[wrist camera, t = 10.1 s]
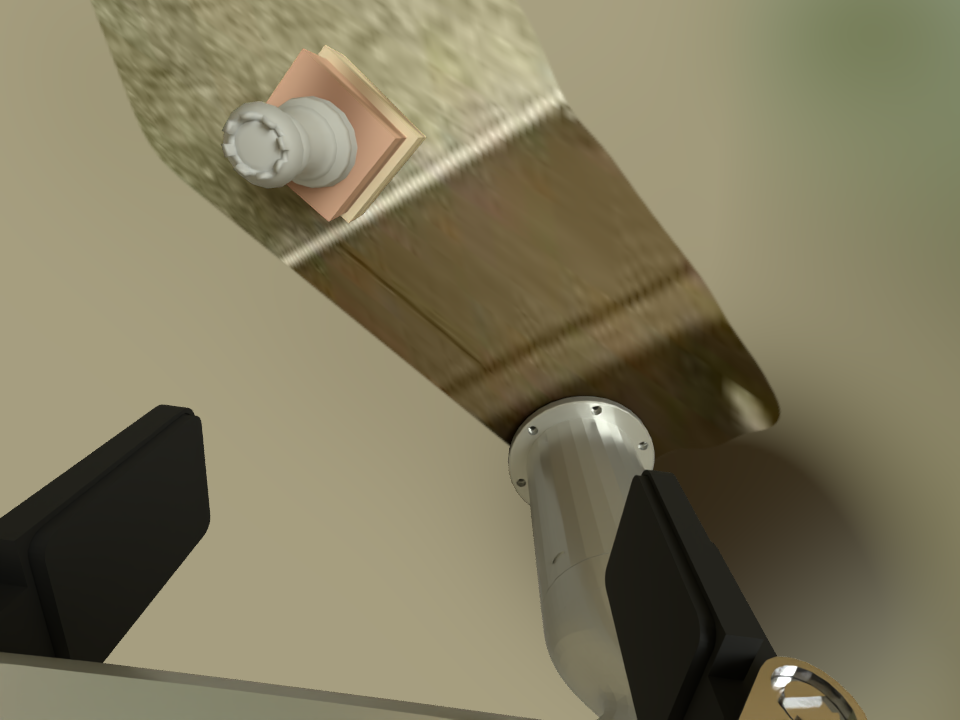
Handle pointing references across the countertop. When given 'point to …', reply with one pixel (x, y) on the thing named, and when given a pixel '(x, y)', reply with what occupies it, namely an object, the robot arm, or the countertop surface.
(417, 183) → the countertop surface
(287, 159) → the rook chess piece
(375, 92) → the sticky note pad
